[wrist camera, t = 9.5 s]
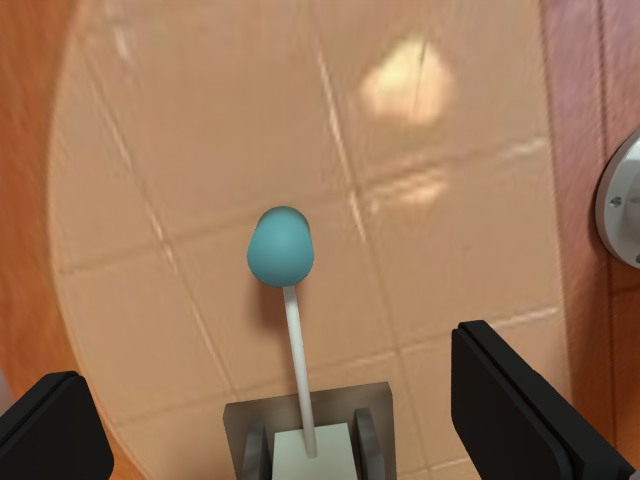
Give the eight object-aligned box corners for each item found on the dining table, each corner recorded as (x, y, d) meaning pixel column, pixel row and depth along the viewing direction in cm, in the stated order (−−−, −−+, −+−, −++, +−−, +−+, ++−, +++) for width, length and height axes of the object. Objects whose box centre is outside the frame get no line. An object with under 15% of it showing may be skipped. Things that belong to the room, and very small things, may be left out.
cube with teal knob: (324, 200, 24) (332, 218, 19) (352, 476, 31) (363, 542, 26) (235, 211, 23) (219, 231, 18) (284, 487, 31) (283, 555, 26)
